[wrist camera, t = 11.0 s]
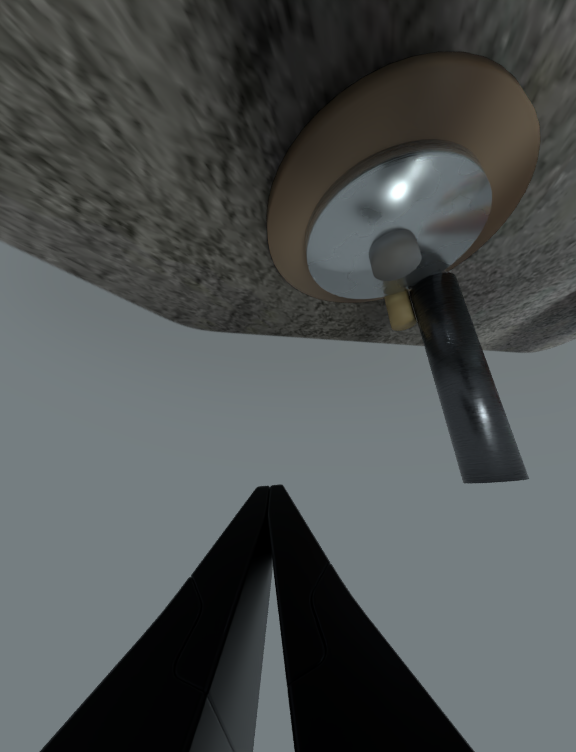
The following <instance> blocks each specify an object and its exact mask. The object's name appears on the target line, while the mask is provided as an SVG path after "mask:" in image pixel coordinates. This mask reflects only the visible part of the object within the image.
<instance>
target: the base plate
mask: <svg viewBox="0 0 576 752" xmlns="http://www.w3.org/2000/svg"><path fill="white" fill-rule="evenodd" d="M420 139H439V140H447V141H451V142H454V143H457V144H460V145H462V146H463V147H465V148H466V149H468V150H470V151H471V152H472V153H473V154H474V155H475V156H476V157H477V159H478V161H479V162H480V164H481V166H482V168H483V170H484V172H485V174H486V176H487V178H488V180H489V183H490V186H491V190H492V205H491V211H490V214H489V217H488V219H487V222H486V224H485V226H484V228H483V230H482V231H481V233H480V234H479V236H478V237H477V239H476V240H475V241H474V243H473V244H472V245H471V246H470V248H469V249H468V250H467V251H466V252H465V253H464V254H463V255H462V256H461V257H460V258H459V259H457V260H456V261H455V262H454V263H453V264H452V265H450V266H449V267H448V268H446V269H447V272H448V271H450V270H451V269H453V268H454V267H456V266H457V265H459V264H460V263H461V262H463V261H464V260H466V259H467V258H468V257H470V256H471V255H472V254H473V253H474V252H476V251H477V250H478V249H479V248H480V247H482V246H483V245H484V244H485V243H486V242H487V241H488V240H489V239H490V238H491V237H492V236H493V235H494V234H495V233H496V232H497V231H498V229H499V228H500V227H501V226H502V225H503V224H504V223H505V221H506V220H507V219H508V217H509V216H510V215H511V213H512V212H513V211H514V209H515V208H516V207H517V205H518V203H519V202H520V200H521V198H522V197H523V195H524V193H525V191H526V189H527V187H528V185H529V183H530V181H531V178H532V176H533V173H534V170H535V167H536V163H537V160H538V154H539V147H540V127H539V122H538V118H537V115H536V111H535V108H534V107H533V105H532V103H531V102H530V100H529V99H528V97H527V95H526V94H525V92H524V91H523V89H522V87H521V86H520V84H519V83H518V81H517V80H516V78H515V77H514V76H513V75H512V74H511V73H509V72H508V71H507V70H506V69H505V68H504V67H503V66H502V65H500V64H498V63H496V62H494V61H492V60H490V59H488V58H486V57H484V56H479V55H475V54H470V53H466V52H434V53H428V54H423V55H417V56H412V57H410V58H407V59H404V60H401V61H398V62H395V63H392V64H389V65H387V66H385V67H383V68H381V69H379V70H377V71H375V72H373V73H371V74H369V75H367V76H365V77H363V78H361V79H360V80H359V81H357V82H356V83H354V84H353V85H351V86H350V87H348V88H347V89H345V90H344V91H342V92H341V93H339V94H338V95H337V96H336V97H335V98H334V99H333V100H331V101H330V102H329V103H328V104H327V105H326V106H324V107H323V108H322V109H321V110H320V111H319V112H318V113H317V114H316V115H315V116H314V117H313V119H312V120H311V121H310V122H309V123H308V124H307V125H306V126H305V127H304V128H303V130H302V131H301V132H300V134H299V135H298V137H297V138H296V139H295V141H294V142H293V144H292V145H291V146H290V148H289V150H288V151H287V153H286V155H285V157H284V159H283V160H282V162H281V164H280V166H279V168H278V171H277V173H276V176H275V178H274V181H273V183H272V187H271V191H270V195H269V199H268V206H267V234H268V244H269V249H270V254H271V257H272V259H273V262H274V264H275V266H276V268H277V269H278V271H279V273H280V274H281V275H282V276H283V278H284V279H285V280H286V281H287V282H288V283H289V284H291V285H292V286H293V287H294V288H296V289H297V290H299V291H300V292H302V293H304V294H307V295H309V296H311V297H314V298H317V299H320V300H325V301H330V302H338V303H359V302H368V301H375V300H380V299H385V303H386V307H387V311H388V315H389V319H390V323H391V327H392V329H393V330H395V331H401V330H406V329H408V328H411V327H412V326H414V325H415V324H416V322H417V321H416V317H415V314H414V310H413V307H412V303H411V300H410V296H409V293H408V291H410V290H411V289H408V290H405V291H403V292H400V293H396V294H393V295H389V296H384V297H379V298H372V299H351V298H345V297H340V296H337V295H334V294H332V293H329V292H327V291H326V290H324V289H323V288H321V287H320V286H319V285H318V284H317V283H316V282H315V280H314V279H313V278H312V276H311V274H310V271H309V268H308V264H307V257H306V249H305V237H306V230H307V226H308V223H309V220H310V218H311V215H312V213H313V211H314V209H315V208H316V206H317V204H318V202H319V201H320V200H321V198H322V197H323V196H324V194H325V193H326V191H327V190H328V189H329V188H330V187H331V186H332V185H333V184H334V183H335V182H336V181H337V180H338V179H339V178H340V177H341V176H342V175H343V174H345V173H346V172H347V171H348V170H349V169H351V168H352V167H354V166H355V165H356V164H358V163H359V162H361V161H362V160H364V159H366V158H368V157H369V156H371V155H373V154H375V153H377V152H379V151H381V150H384V149H386V148H388V147H391V146H394V145H397V144H401V143H404V142H409V141H414V140H420ZM421 258H422V257H421V252H420V249H419V246H418V243H417V240H416V237H415V235H414V234H413V233H412V232H410V231H407V230H397V231H393V232H390V233H388V234H385V235H384V236H382V237H380V238H379V239H378V240H377V241H376V242H375V243H374V244H373V245H372V247H371V248H370V251H369V260H370V264H371V268H372V272H373V275H374V277H375V278H376V279H378V280H381V281H393V280H397V279H400V278H402V277H404V276H406V275H408V274H410V273H411V272H412V271H414V270H415V269H416V268H417V266H418V265H419V264H420V262H421Z"/></svg>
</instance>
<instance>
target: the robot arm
mask: <svg viewBox="0 0 576 752" xmlns="http://www.w3.org/2000/svg"><path fill="white" fill-rule="evenodd" d="M272 568H273V570H274V578H275V587H276V595H277V604H278V612H279V621H280V630H281V638H282V646H283V655H284V664H285V672H286V680H287V687H288V698H289V707H290V715H291V723H292V732H293V741H294V749H295V752H474V751H473V749H472V748H471V747H470V745H469V744H468V743H467V742H466V740H465V739H464V738H463V737H462V735H461V734H460V733H459V732H458V730H457V729H456V728H455V726H454V725H453V724H452V723H451V721H449V719H448V718H447V716H446V715H445V714H444V712H442V710H441V709H440V707H439V706H438V705H437V704H436V702H435V701H434V700H433V699H432V697H431V696H430V695H429V694H428V692H427V691H426V690H425V689H424V687H423V686H422V685H421V683H420V682H419V681H418V680H417V678H416V677H415V676H414V675H413V673H412V672H411V671H410V670H409V668H408V667H407V666H406V665H405V664H404V662H403V661H402V659H401V658H400V657H399V656H398V655H397V653H396V652H395V651H394V649H393V648H392V647H391V646H390V644H389V643H388V642H387V641H386V639H385V638H384V637H383V635H382V634H381V633H380V632H379V631H378V629H377V628H376V627H375V625H374V624H373V623H372V622H371V620H370V619H369V618H368V617H367V615H366V614H365V613H364V611H363V610H362V609H361V607H360V606H359V605H358V603H357V602H356V601H355V599H354V598H353V597H352V595H351V594H350V592H349V591H348V589H347V588H346V586H345V585H344V583H343V582H342V580H341V579H340V577H339V576H338V574H337V572H336V571H335V569H334V567H333V566H332V564H330V561H329V560H328V558H327V556H326V555H325V553H324V551H323V550H322V548H321V547H320V545H319V543H318V542H317V540H316V538H315V537H314V535H313V534H312V532H311V530H310V529H309V527H308V526H307V524H306V522H305V520H304V519H303V517H302V516H301V514H300V512H299V510H298V509H297V507H296V506H295V504H294V502H293V501H292V499H291V497H290V496H289V494H288V492H287V491H286V490H285V488H284V486H283V485H272V486H271V487H269V486H260V487H257V488H256V489H255V491H254V492H253V493H252V494H251V496H250V497H249V498H248V500H247V501H246V502H245V504H244V505H243V506H242V508H241V509H240V511H239V512H238V513H237V514H236V516H235V517H234V518H233V520H232V521H231V523H230V524H229V525H228V527H227V528H226V529H225V531H224V532H223V533H222V535H221V536H220V537H219V539H218V540H217V541H216V543H215V544H214V545H213V547H212V548H211V549H210V551H209V552H208V553H207V555H206V556H205V557H204V559H203V560H202V561H201V563H200V564H199V565H198V567H197V568H196V570H195V571H194V572H193V574H192V575H191V577H189V578H188V579H187V581H186V582H185V584H184V585H183V586H182V587H181V589H180V590H179V591H178V593H177V594H176V595H175V596H174V598H173V599H172V600H171V602H170V603H169V604H168V605H167V607H166V608H165V609H164V611H163V612H162V613H161V614H160V615H159V616H158V618H157V619H156V620H155V621H154V622H153V624H152V625H151V626H150V627H149V628H148V629H147V631H146V632H145V633H144V634H143V635H142V636H141V638H140V639H139V640H138V641H137V642H136V643H135V645H134V646H133V647H132V648H131V649H130V650H129V651H128V652H127V653H126V655H125V656H124V657H123V658H122V659H121V661H119V662H118V664H117V665H116V666H115V667H114V668H113V669H112V670H111V672H110V673H109V674H108V675H107V676H106V677H105V678H104V679H103V681H102V682H101V683H100V684H99V685H98V686H97V687H96V689H95V690H94V691H93V692H92V693H91V694H90V696H89V697H88V698H87V699H86V700H85V701H84V702H83V703H82V704H81V706H80V707H79V708H78V709H77V710H76V711H75V712H74V713H73V715H72V716H71V717H70V718H69V719H68V720H67V721H66V722H65V724H64V725H63V726H62V727H61V728H60V729H59V731H58V732H57V733H56V734H55V735H54V736H53V737H52V738H51V740H50V741H49V742H48V743H47V744H46V745H45V746H44V747H43V749H42V750H41V751H40V752H253V746H254V736H255V727H256V717H257V708H258V699H259V689H260V680H261V670H262V661H263V652H264V643H265V632H266V624H267V615H268V605H269V596H270V587H271V577H272Z"/></svg>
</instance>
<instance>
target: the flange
mask: <svg viewBox="0 0 576 752" xmlns="http://www.w3.org/2000/svg"><path fill="white" fill-rule="evenodd" d="M491 205H492V190H491V186H490V183H489V180H488V178H487V176H486V174H485V172H484V170H483V168H482V166H481V164H480V162H479V161H478V159H477V157H476V156H475V155H474V154H473V153H472V152H471V151H470V150H468V149H466V148H465V147H463V146H462V145H460V144H457V143H454V142H451V141H447V140H439V139H420V140H414V141H409V142H404V143H401V144H397V145H394V146H391V147H388V148H386V149H384V150H381V151H379V152H377V153H375V154H373V155H371V156H369V157H368V158H366V159H364V160H362V161H361V162H359V163H358V164H356V165H355V166H354V167H352V168H351V169H349V170H348V171H347V172H346V173H345V174H343V175H342V176H341V177H340V178H339V179H338V180H337V181H336V182H335V183H334V184H333V185H332V186H331V187H330V188H329V189H328V190H327V191H326V193H325V194H324V196H323V197H322V198H321V200H320V201H319V202H318V204H317V206H316V208H315V209H314V211H313V213H312V215H311V218H310V220H309V223H308V226H307V230H306V237H305V249H306V257H307V264H308V268H309V271H310V274H311V276H312V278H313V279H314V280H315V282H316V283H317V284H318V285H319V286H320V287H321V288H323V289H324V290H326V291H327V292H329V293H332V294H334V295H337V296H340V297H345V298H351V299H372V298H379V297H384V296H389V295H393V294H396V293H400V292H403V291H405V290H408V289H411V291H410V297H411V300H412V304H413V307H414V311H415V314H416V318H417V321H418V325H419V328H420V332H421V336H422V339H423V343H424V346H425V349H426V353H427V356H428V360H429V364H430V367H431V371H432V374H433V378H434V381H435V385H436V388H437V392H438V395H439V399H440V402H441V406H442V409H443V413H444V416H445V420H446V423H447V427H448V431H449V434H450V437H451V441H452V444H453V448H454V451H455V455H456V459H457V462H458V466H459V469H460V473H461V476H462V480H463V483H492V482H507V481H518V480H526V479H529V477H528V475H527V472H526V469H525V467H524V464H523V461H522V458H521V456H520V453H519V450H518V447H517V444H516V442H515V439H514V436H513V433H512V430H511V428H510V425H509V423H508V419H507V417H506V414H505V411H504V409H503V406H502V403H501V400H500V398H499V395H498V392H497V389H496V387H495V384H494V381H493V378H492V375H491V372H490V370H489V367H488V364H487V361H486V359H485V356H484V353H483V350H482V347H481V345H480V342H479V339H478V336H477V334H476V331H475V328H474V325H473V323H472V320H471V317H470V314H469V312H468V309H467V306H466V303H465V300H464V298H463V295H462V292H461V289H460V287H459V284H458V281H457V278H456V276H455V275H454V274H452V273H448V272H447V269H446V268H448V267H449V266H450V265H452V264H453V263H454V262H455V261H456V260H457V259H459V258H460V257H461V256H462V255H463V254H464V253H465V252H466V251H467V250H468V249H469V248H470V246H471V245H472V244H473V243H474V241H475V240H476V239H477V237H478V236H479V234H480V233H481V231H482V230H483V228H484V226H485V224H486V222H487V219H488V217H489V214H490V211H491ZM397 230H407V231H410V232H412V233H413V234H414V235H415V237H416V240H417V243H418V246H419V249H420V252H421V257H422V258H421V262H420V264H419V265H418V266H417V268H416V269H415V270H414V271H412V272H411V273H410V274H408V275H406V276H404V277H402V278H400V279H397V280H393V281H381V280H378V279H376V278H375V277H374V275H373V272H372V268H371V264H370V260H369V251H370V248H371V247H372V245H373V244H374V243H375V242H376V241H377V240H378V239H379V238H380V237H382V236H384V235H385V234H388V233H390V232H393V231H397Z"/></svg>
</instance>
